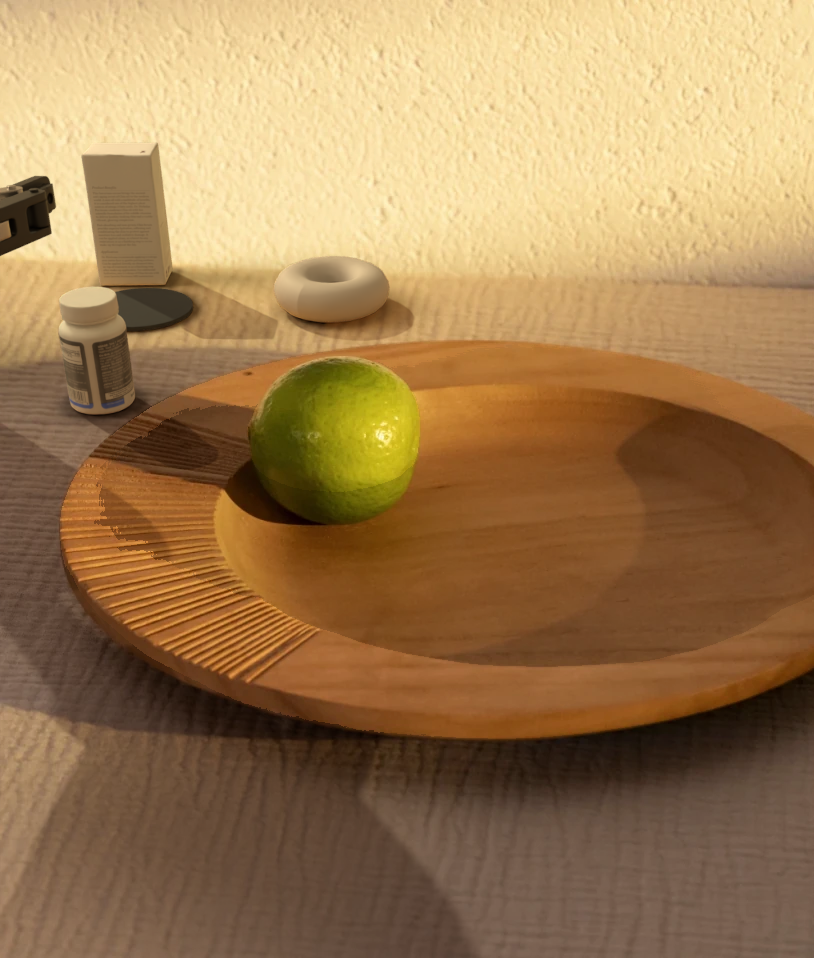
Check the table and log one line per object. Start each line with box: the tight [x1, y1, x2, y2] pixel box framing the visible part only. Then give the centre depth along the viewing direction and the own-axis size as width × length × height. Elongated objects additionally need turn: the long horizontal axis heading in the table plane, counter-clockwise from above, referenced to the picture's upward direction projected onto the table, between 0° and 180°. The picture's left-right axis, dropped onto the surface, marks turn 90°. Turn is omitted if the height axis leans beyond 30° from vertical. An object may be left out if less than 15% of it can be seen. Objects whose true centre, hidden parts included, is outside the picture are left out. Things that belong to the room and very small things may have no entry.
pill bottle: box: [58, 286, 136, 415], centre depth 96 cm, size 5×5×8 cm
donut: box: [273, 255, 391, 324], centre depth 115 cm, size 10×4×10 cm
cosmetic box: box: [80, 141, 174, 287], centre depth 118 cm, size 6×4×12 cm
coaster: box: [114, 287, 194, 332], centre depth 114 cm, size 9×9×1 cm
